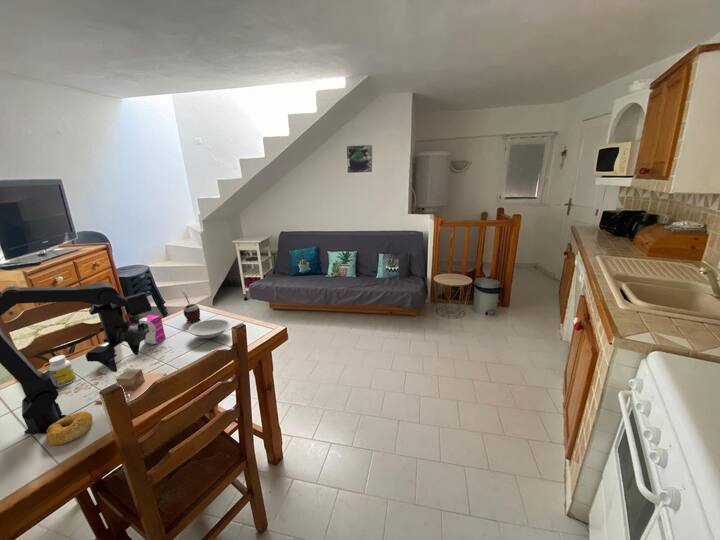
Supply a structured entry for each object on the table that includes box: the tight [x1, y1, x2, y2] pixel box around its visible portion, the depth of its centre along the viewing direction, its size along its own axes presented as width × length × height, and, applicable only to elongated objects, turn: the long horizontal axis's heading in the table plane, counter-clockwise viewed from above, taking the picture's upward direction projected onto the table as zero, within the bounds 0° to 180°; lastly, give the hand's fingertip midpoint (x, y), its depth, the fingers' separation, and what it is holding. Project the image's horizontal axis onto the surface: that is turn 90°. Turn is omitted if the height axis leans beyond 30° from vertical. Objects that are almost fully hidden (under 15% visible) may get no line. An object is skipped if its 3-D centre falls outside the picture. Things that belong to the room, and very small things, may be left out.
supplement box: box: [138, 314, 166, 346], centre depth 130 cm, size 6×6×12 cm
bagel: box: [45, 410, 94, 446], centre depth 85 cm, size 10×11×5 cm
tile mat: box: [95, 372, 167, 404], centre depth 103 cm, size 14×14×1 cm
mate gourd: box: [181, 290, 201, 325], centre depth 147 cm, size 8×8×15 cm
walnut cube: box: [115, 368, 145, 391], centre depth 102 cm, size 5×5×5 cm
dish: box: [187, 318, 231, 339], centre depth 134 cm, size 18×14×5 cm
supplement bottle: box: [48, 354, 76, 387], centre depth 105 cm, size 5×5×10 cm
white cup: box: [100, 342, 124, 364], centre depth 118 cm, size 7×7×7 cm
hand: (126, 363), depth 100 cm, fingers open, 9 cm apart
